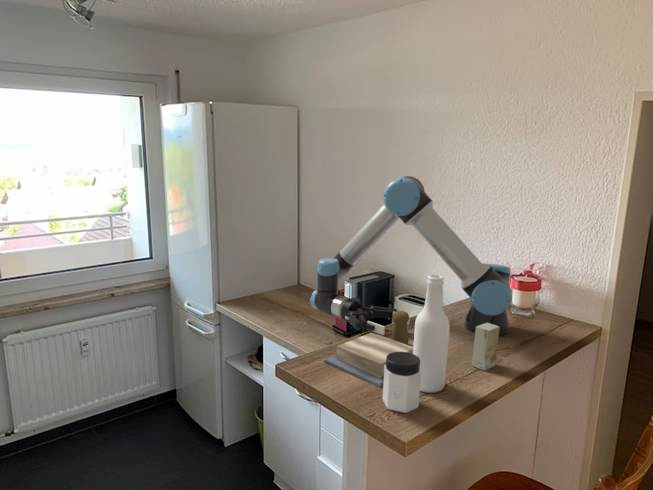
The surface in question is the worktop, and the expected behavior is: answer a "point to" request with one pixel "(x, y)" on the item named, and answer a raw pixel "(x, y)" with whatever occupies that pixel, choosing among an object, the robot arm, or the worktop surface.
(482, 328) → the skincare box
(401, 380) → the jar
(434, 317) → the alcohol
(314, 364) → the worktop surface
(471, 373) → the worktop surface
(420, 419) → the worktop surface
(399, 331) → the cork
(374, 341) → the plinth
